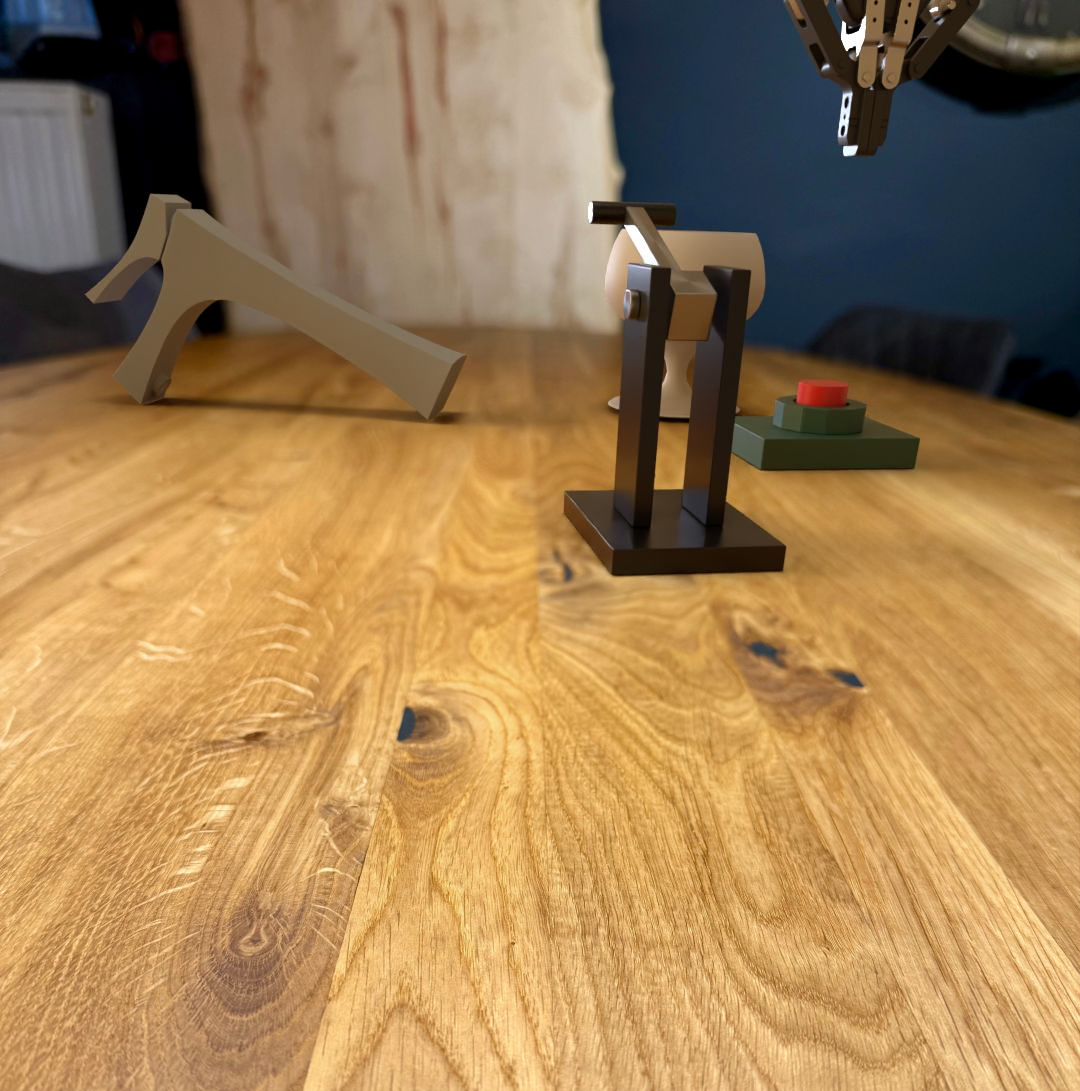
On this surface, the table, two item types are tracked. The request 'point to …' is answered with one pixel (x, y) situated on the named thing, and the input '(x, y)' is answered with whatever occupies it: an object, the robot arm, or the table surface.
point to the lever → (664, 265)
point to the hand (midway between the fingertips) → (859, 155)
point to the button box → (821, 439)
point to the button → (822, 393)
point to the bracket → (700, 507)
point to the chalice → (690, 256)
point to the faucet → (262, 283)
